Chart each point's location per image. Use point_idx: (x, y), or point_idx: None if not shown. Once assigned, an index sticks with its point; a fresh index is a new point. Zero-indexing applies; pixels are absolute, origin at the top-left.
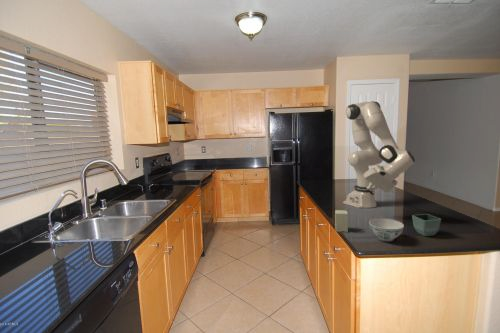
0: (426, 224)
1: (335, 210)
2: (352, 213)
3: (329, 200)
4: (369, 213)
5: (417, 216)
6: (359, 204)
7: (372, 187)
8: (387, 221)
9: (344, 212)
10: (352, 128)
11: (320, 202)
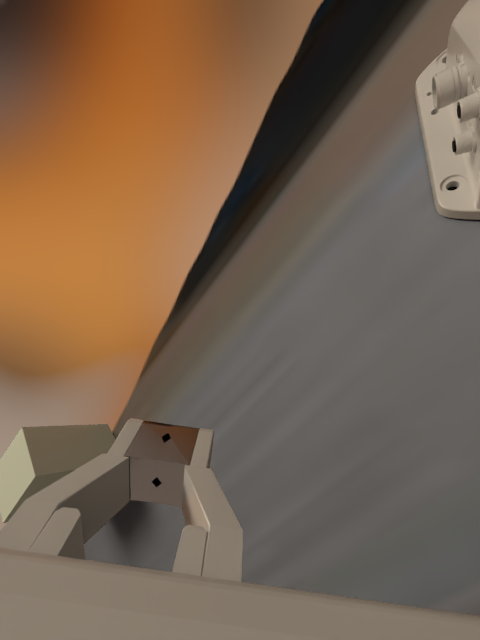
0: None
1: (19, 432)
2: (298, 305)
3: (380, 20)
4: (407, 359)
5: None
6: (475, 175)
7: (189, 495)
8: None
9: (11, 492)
10: None
11: (300, 69)
